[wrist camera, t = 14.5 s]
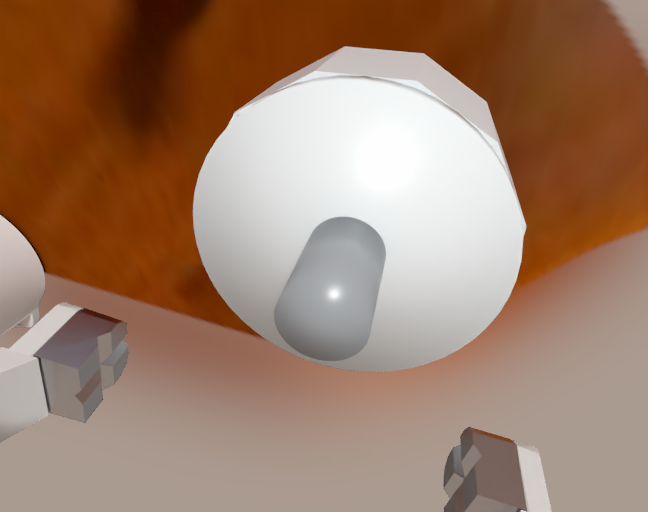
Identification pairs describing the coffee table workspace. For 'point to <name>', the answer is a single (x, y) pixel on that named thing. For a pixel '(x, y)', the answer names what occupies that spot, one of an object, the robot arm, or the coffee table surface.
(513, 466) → the robot arm
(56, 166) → the coffee table surface
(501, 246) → the cap
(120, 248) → the coffee table surface
